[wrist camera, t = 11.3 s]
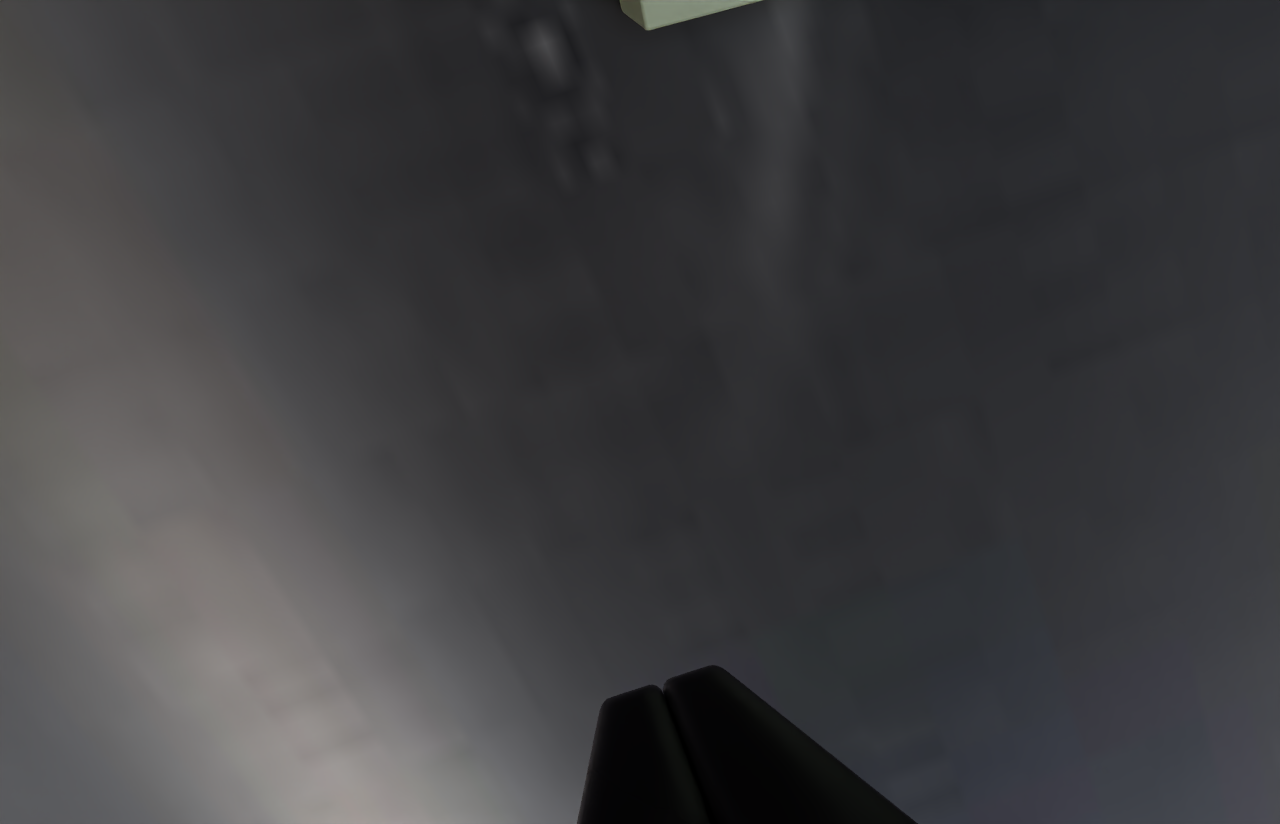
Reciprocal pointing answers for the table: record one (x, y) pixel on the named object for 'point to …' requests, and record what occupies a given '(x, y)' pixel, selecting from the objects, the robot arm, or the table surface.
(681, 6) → the plug block
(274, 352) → the table surface
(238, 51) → the table surface
